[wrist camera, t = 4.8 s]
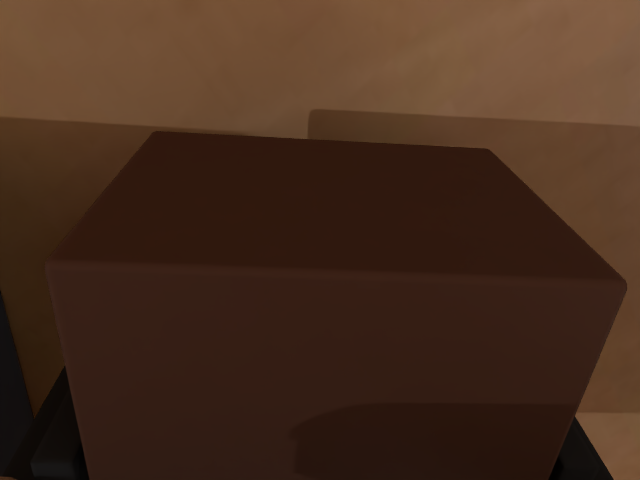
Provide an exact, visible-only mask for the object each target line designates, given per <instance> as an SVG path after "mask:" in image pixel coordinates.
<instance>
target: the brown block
mask: <svg viewBox="0 0 640 480" xmlns="http://www.w3.org/2000/svg"><path fill="white" fill-rule="evenodd" d="M45 273H46V278H47V283H48V287H49V292H50V297H51V302H52V306H53V311H54V316H55V320H56V325H57V330H58V334H59V339H60V344H61V348H62V353H63V358H64V362H65V367H66V372H67V377H68V381H69V386H70V391H71V395H72V400H73V405H74V409H75V414H76V419H77V423H78V428H79V433H80V437H81V442H82V447H83V452H84V456H85V461H86V466H87V470H88V475H89V480H548V479H549V477H550V474H551V472H552V469H553V467H554V464H555V462H556V460H557V457H558V455H559V452H560V450H561V448H562V445H563V443H564V440H565V438H566V436H567V433H568V431H569V428H570V426H571V423H572V421H573V419H574V416H575V414H576V411H577V409H578V407H579V404H580V402H581V399H582V397H583V395H584V392H585V390H586V387H587V385H588V382H589V380H590V378H591V375H592V373H593V370H594V368H595V366H596V363H597V361H598V358H599V356H600V354H601V351H602V349H603V346H604V344H605V341H606V339H607V337H608V334H609V332H610V329H611V327H612V325H613V322H614V320H615V317H616V315H617V312H618V310H619V308H620V305H621V303H622V300H623V298H624V296H625V293H626V291H627V283H626V280H624V279H623V278H622V277H621V276H620V275H619V274H618V273H617V272H616V271H615V270H614V269H613V268H612V267H611V266H610V265H609V264H608V263H607V262H606V261H605V260H604V259H603V258H602V257H601V256H600V255H598V254H597V253H596V252H595V251H594V250H593V249H592V248H591V247H590V246H589V245H588V244H587V243H586V242H585V241H584V240H583V239H582V238H581V237H580V236H579V235H578V234H577V233H576V232H575V231H574V230H572V229H571V228H570V227H569V226H568V225H567V224H566V223H565V222H564V221H563V220H562V219H561V218H560V217H559V216H558V215H557V214H556V213H555V212H554V211H553V210H552V209H551V208H550V207H549V206H548V205H546V204H545V203H544V202H543V201H542V200H541V199H540V198H539V197H538V196H537V195H536V194H535V193H534V192H533V191H532V190H531V189H530V188H529V187H528V186H527V185H526V184H525V183H524V182H523V181H522V180H520V179H519V178H518V177H517V176H516V175H515V174H514V173H513V172H512V171H511V170H510V169H509V168H508V167H507V166H506V165H505V164H504V163H503V162H502V161H501V160H500V159H499V158H498V157H497V156H496V155H494V154H493V153H492V152H491V151H490V150H488V149H481V148H462V147H443V146H424V145H405V144H387V143H368V142H349V141H330V140H311V139H292V138H274V137H255V136H236V135H217V134H198V133H180V132H161V131H156V132H153V133H152V134H151V135H150V136H149V138H148V139H147V140H146V141H145V142H144V144H143V145H142V146H141V147H140V148H139V150H138V151H137V152H136V153H135V154H134V156H133V157H132V158H131V159H130V160H129V162H128V163H127V164H126V165H125V166H124V168H123V169H122V170H121V171H120V172H119V174H118V175H117V176H116V177H115V178H114V180H113V181H112V182H111V183H110V184H109V186H108V187H107V188H106V189H105V190H104V192H103V193H102V194H101V195H100V196H99V198H98V199H97V200H96V201H95V202H94V204H93V205H92V206H91V207H90V208H89V210H88V211H87V212H86V213H85V214H84V215H83V217H82V218H81V219H80V220H79V221H78V223H77V224H76V225H75V226H74V227H73V229H72V230H71V231H70V232H69V233H68V235H67V236H66V237H65V238H64V239H63V241H62V242H61V243H60V244H59V245H58V247H57V248H56V249H55V250H54V251H53V253H52V254H51V255H50V256H49V257H48V259H47V260H46V263H45Z"/></svg>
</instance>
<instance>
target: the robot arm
mask: <svg viewBox="0 0 640 480" xmlns="http://www.w3.org/2000/svg"><path fill="white" fill-rule="evenodd" d="M0 480H89V475H88V470H87V466H86V461H85V456H84V452H83V447H82V442H81V437H80V433H79V428H78V423H77V419H76V414H75V409H74V405H73V400H72V395H71V391H70V386H69V381H68V377H67V372H66V367H65V366H64V368H63V370H62V371H61V373H60V375H59V377H58V378H57V380H56V382H55V384H54V386H53V387H52V389H51V391H50V393H49V394H48V396H47V398H46V400H45V401H44V403H43V405H42V407H41V408H40V410H39V412H38V414H37V415H36V417H35V419H34V421H33V422H32V424H31V426H30V428H29V429H28V431H27V433H26V435H25V436H24V438H23V440H22V442H21V444H20V445H19V447H18V449H17V451H16V452H15V454H14V456H13V458H12V459H11V461H10V463H9V465H8V466H7V468H6V470H5V472H4V473H3V475H2V476H0ZM548 480H614V479H613V478H612V476H611V474H610V473H609V471H608V469H607V468H606V466H605V465H604V463H603V461H602V460H601V458H600V456H599V455H598V453H597V452H596V450H595V448H594V447H593V445H592V443H591V442H590V440H589V439H588V437H587V435H586V434H585V432H584V430H583V429H582V427H581V426H580V424H579V422H578V421H577V419H576V417H575V416H574V419H573V421H572V423H571V426H570V428H569V431H568V433H567V436H566V438H565V440H564V443H563V445H562V448H561V450H560V452H559V455H558V457H557V460H556V462H555V464H554V467H553V469H552V472H551V474H550V477H549V479H548Z"/></svg>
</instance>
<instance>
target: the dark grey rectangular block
mask: <svg viewBox="0 0 640 480" xmlns="http://www.w3.org/2000/svg"><path fill="white" fill-rule="evenodd" d="M33 421H34V418H33V414H32V411H31V407H30V403H29V399H28V395H27V391H26V388H25V384H24V380H23V376H22V372H21V369H20V365H19V361H18V357H17V353H16V349H15V346H14V342H13V338H12V334H11V330H10V327H9V323H8V319H7V315H6V311H5V307H4V304H3V300H2V296H1V292H0V476H2V475H3V473H4V472H5V470H6V468H7V466H8V465H9V463H10V461H11V459H12V458H13V456H14V454H15V452H16V451H17V449H18V447H19V445H20V444H21V442H22V440H23V438H24V436H25V435H26V433H27V431H28V429H29V428H30V426H31V424H32V422H33Z"/></svg>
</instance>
